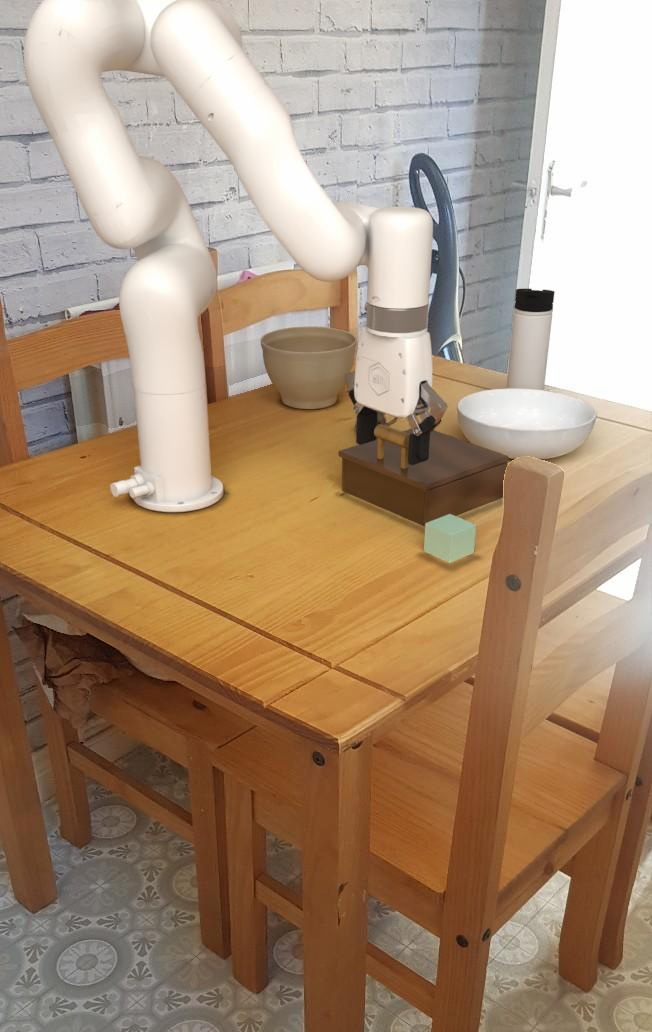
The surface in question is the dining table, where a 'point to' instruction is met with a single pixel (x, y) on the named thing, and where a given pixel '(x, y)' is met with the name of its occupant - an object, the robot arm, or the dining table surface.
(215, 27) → the robot arm
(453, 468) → the lid
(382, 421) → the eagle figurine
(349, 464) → the box
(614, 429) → the dining table surface
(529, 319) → the travel mug
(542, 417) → the serving bowl
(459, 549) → the block
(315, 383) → the planter bowl
